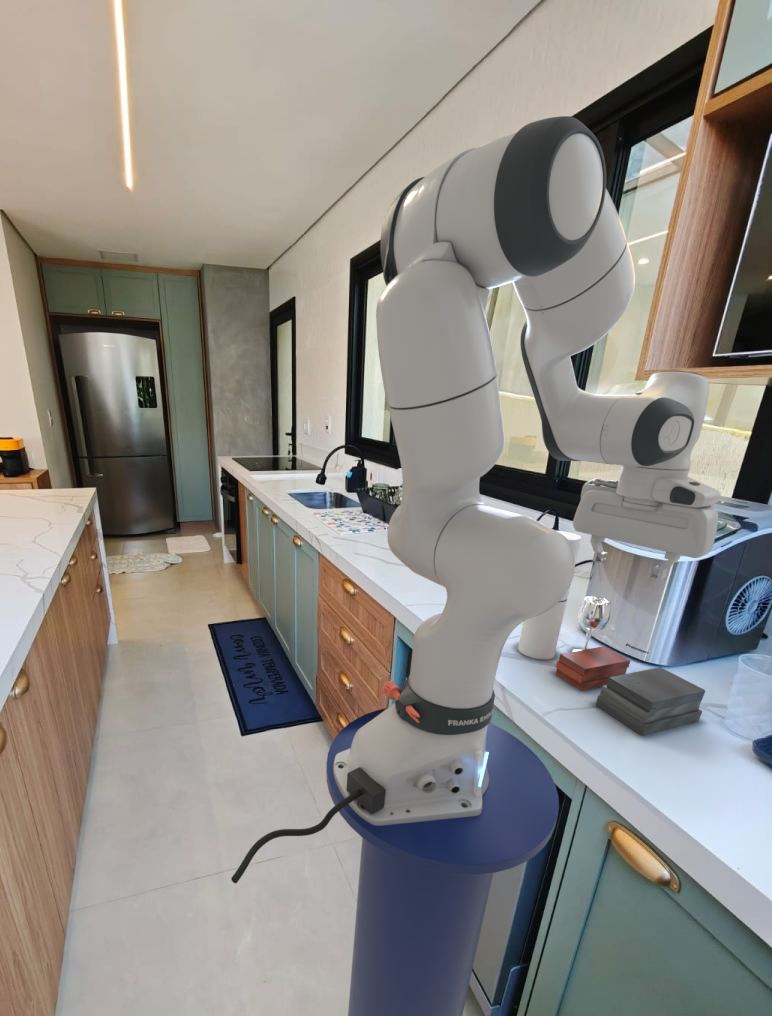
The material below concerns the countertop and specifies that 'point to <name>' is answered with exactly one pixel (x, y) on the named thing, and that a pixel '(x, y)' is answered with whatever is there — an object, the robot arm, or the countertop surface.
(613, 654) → the rust booklet
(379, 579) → the countertop surface
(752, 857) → the countertop surface
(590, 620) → the wineglass
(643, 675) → the grey books
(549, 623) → the cylindrical container
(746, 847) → the countertop surface
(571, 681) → the rust books
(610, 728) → the countertop surface
